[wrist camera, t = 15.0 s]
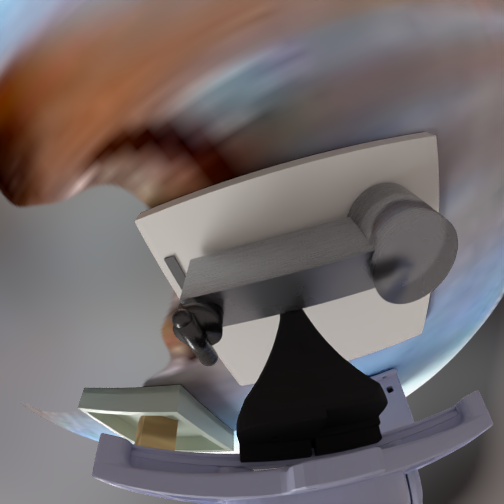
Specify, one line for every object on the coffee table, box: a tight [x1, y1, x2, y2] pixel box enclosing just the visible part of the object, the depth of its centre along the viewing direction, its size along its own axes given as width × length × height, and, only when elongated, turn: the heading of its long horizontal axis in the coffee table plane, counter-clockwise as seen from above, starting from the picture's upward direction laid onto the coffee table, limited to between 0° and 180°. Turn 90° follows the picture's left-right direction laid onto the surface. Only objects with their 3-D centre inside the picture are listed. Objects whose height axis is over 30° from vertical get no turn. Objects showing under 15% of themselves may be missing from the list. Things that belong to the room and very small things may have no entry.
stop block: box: [134, 416, 178, 451], centre depth 24 cm, size 4×4×6 cm
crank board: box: [135, 132, 439, 386], centre depth 16 cm, size 16×16×1 cm
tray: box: [78, 385, 234, 452], centre depth 26 cm, size 14×14×3 cm
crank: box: [172, 182, 458, 366], centre depth 11 cm, size 13×4×5 cm, turn 106°
